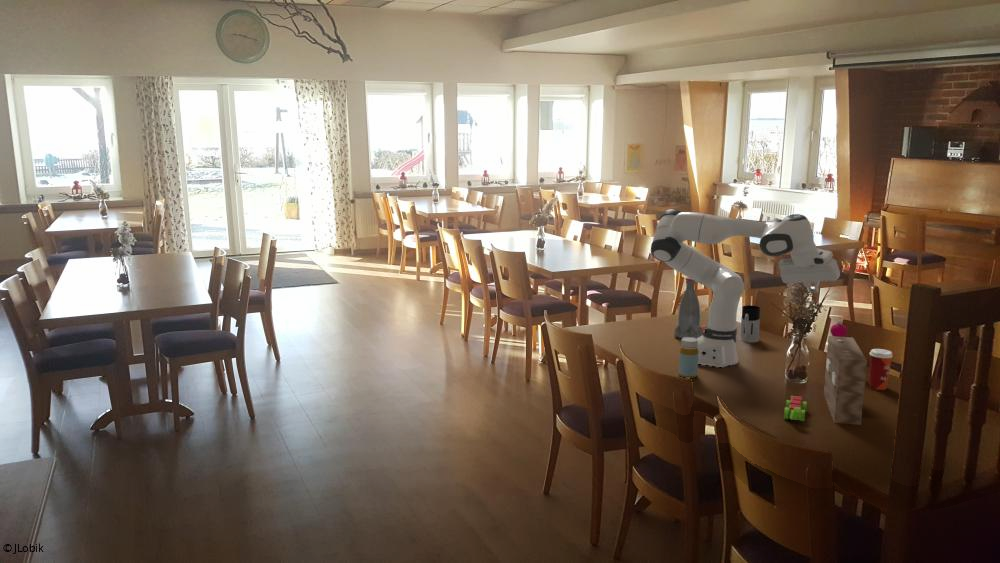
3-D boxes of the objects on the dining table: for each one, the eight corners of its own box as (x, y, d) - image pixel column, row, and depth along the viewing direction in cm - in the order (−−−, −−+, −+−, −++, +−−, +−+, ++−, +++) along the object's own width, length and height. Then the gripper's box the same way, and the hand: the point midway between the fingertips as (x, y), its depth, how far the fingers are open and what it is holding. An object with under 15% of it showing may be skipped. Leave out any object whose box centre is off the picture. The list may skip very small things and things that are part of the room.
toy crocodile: (786, 403, 256) (788, 387, 255) (807, 406, 254) (808, 390, 252) (782, 424, 239) (783, 407, 238) (804, 428, 236) (805, 410, 235)
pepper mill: (847, 372, 286) (851, 323, 281) (827, 371, 287) (831, 322, 283) (842, 366, 293) (847, 318, 288) (823, 365, 294) (827, 317, 290)
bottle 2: (687, 380, 280) (688, 343, 277) (675, 374, 286) (676, 338, 283) (701, 377, 283) (702, 340, 280) (688, 371, 289) (690, 335, 286)
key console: (834, 422, 240) (839, 357, 235) (823, 394, 264) (828, 335, 259) (860, 424, 237) (867, 359, 233) (847, 396, 262) (853, 336, 257)
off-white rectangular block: (834, 386, 240) (834, 376, 240) (831, 380, 245) (832, 371, 245) (853, 387, 239) (854, 378, 238) (851, 382, 244) (852, 373, 243)
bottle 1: (705, 341, 329) (708, 280, 323) (677, 341, 329) (679, 281, 323) (698, 333, 341) (701, 274, 335) (671, 333, 341) (673, 275, 335)
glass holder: (761, 338, 331) (763, 306, 328) (753, 346, 320) (755, 313, 316) (742, 335, 336) (743, 304, 333) (733, 343, 324) (735, 311, 321)
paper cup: (888, 392, 264) (892, 355, 261) (865, 388, 268) (868, 352, 265) (890, 385, 271) (894, 350, 268) (867, 382, 275) (870, 346, 272)
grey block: (828, 372, 254) (828, 363, 253) (826, 367, 258) (826, 358, 258) (846, 373, 252) (847, 364, 251) (844, 368, 257) (845, 360, 256)
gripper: (773, 263, 267) (783, 296, 270) (830, 258, 252) (839, 294, 256) (780, 255, 271) (789, 289, 275) (836, 251, 256) (845, 286, 260)
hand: (814, 291), depth 265 cm, fingers closed
